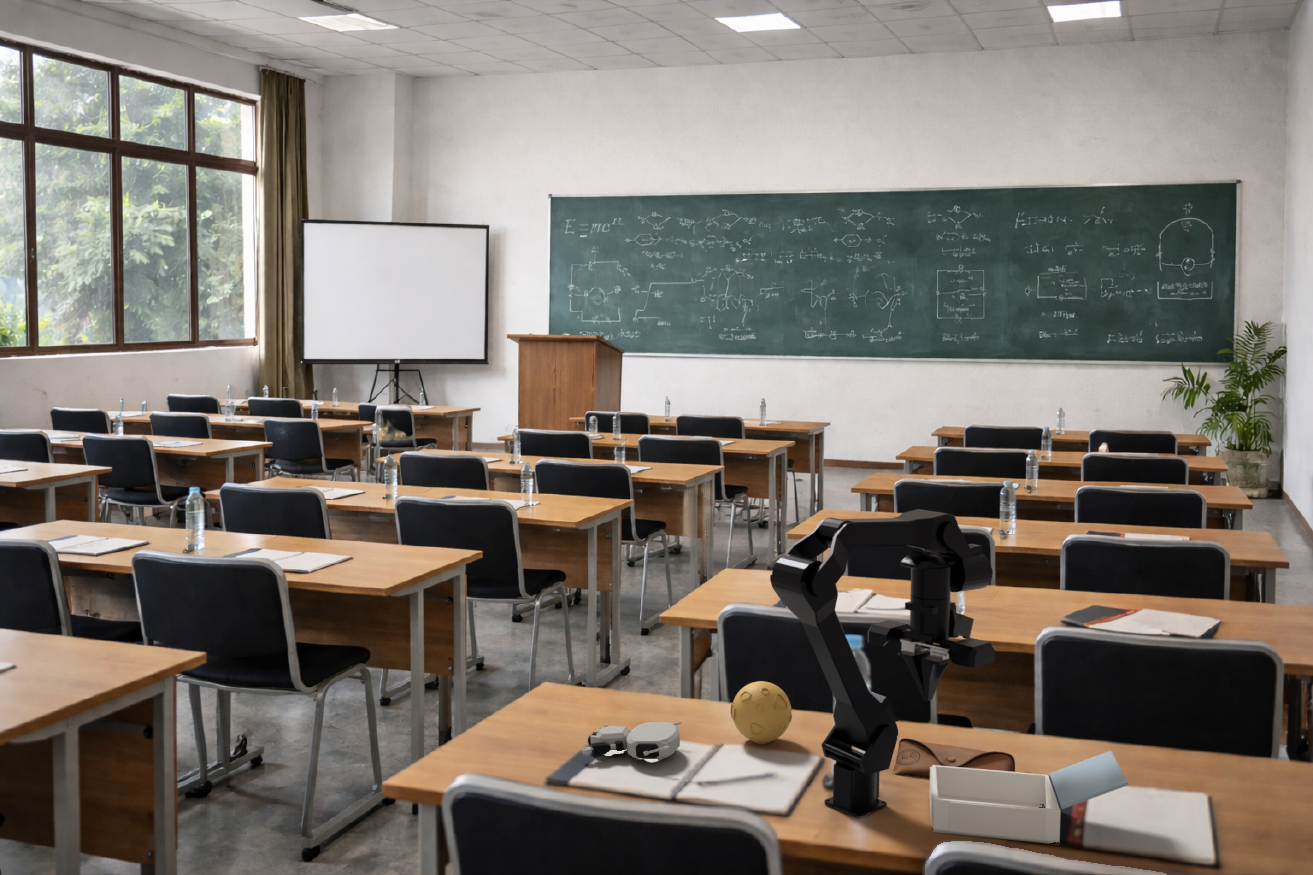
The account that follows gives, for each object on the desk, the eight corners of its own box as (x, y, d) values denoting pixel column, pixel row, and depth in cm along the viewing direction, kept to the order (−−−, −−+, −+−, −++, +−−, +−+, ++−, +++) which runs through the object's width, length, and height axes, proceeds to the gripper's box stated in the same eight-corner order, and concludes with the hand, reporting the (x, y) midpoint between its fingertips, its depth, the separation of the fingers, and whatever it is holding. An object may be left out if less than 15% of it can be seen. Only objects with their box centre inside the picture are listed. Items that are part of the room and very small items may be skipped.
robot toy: (579, 771, 171) (673, 771, 168) (577, 742, 171) (671, 742, 168) (598, 744, 183) (686, 744, 180) (596, 717, 183) (684, 717, 180)
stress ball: (748, 735, 188) (710, 704, 184) (786, 691, 189) (749, 660, 185) (774, 764, 179) (734, 733, 175) (813, 718, 180) (774, 685, 175)
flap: (1060, 806, 144) (1127, 781, 142) (1049, 773, 156) (1110, 750, 154) (1062, 809, 144) (1129, 784, 142) (1050, 775, 156) (1112, 752, 154)
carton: (931, 832, 147) (932, 799, 147) (929, 793, 160) (929, 763, 160) (1059, 845, 144) (1060, 811, 143) (1046, 804, 157) (1047, 773, 157)
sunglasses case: (888, 774, 168) (893, 730, 171) (894, 783, 174) (899, 740, 177) (1012, 792, 161) (1014, 746, 164) (1014, 800, 167) (1016, 756, 170)
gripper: (1017, 598, 160) (1014, 704, 161) (910, 579, 174) (908, 676, 175) (974, 609, 153) (971, 719, 154) (866, 588, 167) (864, 689, 168)
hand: (927, 699), depth 163 cm, fingers closed
